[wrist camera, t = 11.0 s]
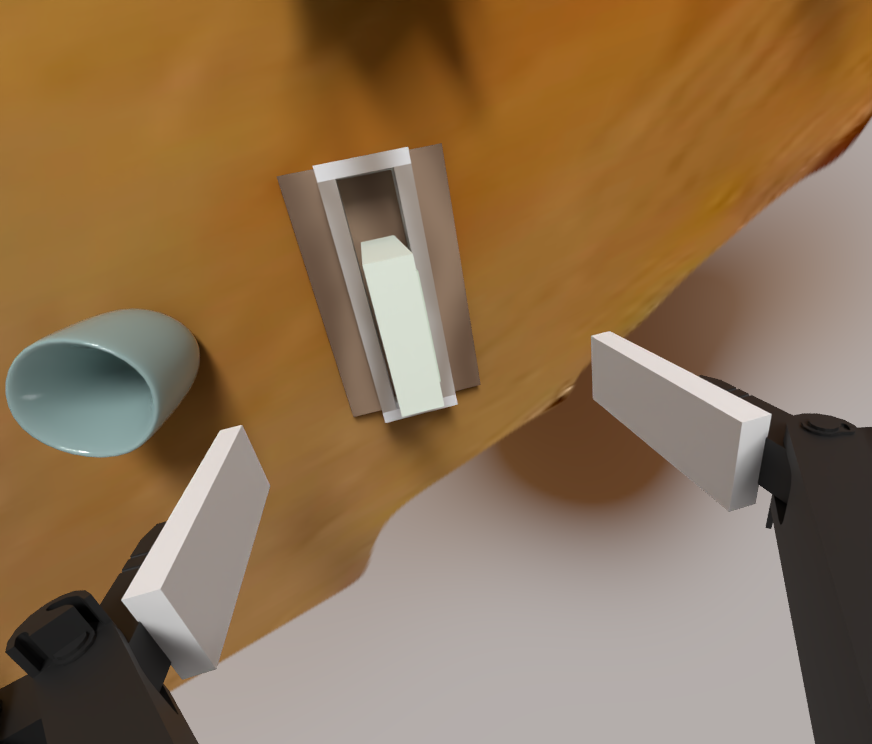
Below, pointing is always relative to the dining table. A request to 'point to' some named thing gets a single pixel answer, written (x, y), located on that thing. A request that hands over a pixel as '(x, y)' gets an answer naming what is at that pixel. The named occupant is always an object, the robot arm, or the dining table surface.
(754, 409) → the robot arm
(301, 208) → the track
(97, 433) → the cup
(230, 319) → the dining table surface
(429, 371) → the pale rectangular block
